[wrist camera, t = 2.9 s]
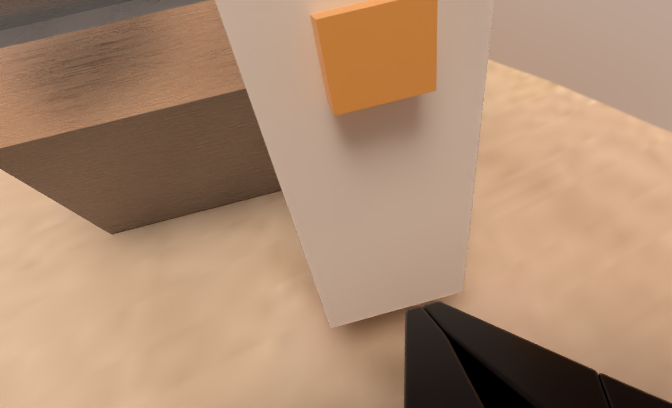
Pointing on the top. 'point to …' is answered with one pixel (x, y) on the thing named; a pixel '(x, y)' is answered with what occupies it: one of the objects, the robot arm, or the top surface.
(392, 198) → the block
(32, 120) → the rail board
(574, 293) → the top surface
